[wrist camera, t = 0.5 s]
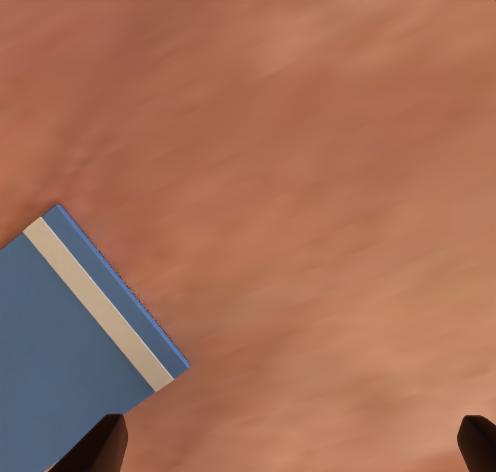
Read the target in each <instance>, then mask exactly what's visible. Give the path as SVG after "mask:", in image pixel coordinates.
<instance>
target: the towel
mask: <svg viewBox="0 0 496 472" xmlns="http://www.w3.org/2000/svg"><path fill="white" fill-rule="evenodd" d="M189 366H190V364H189V363H188V361H187V360H186V359H185V358H184V356H183V355H182V354H181V353H180V352H179V350H178V349H177V348H176V347H175V345H174V344H173V343H172V342H171V340H170V339H169V338H168V337H167V335H166V334H165V333H164V332H163V331H162V329H161V328H160V327H159V326H158V324H157V323H156V322H155V321H154V319H153V318H152V317H151V316H150V314H149V313H148V312H147V311H146V310H145V308H144V307H143V306H142V305H141V303H140V302H139V301H138V300H137V298H136V297H135V296H134V295H133V293H132V292H131V291H130V290H129V289H128V287H127V286H126V285H125V284H124V282H123V281H122V280H121V279H120V277H119V276H118V275H117V274H116V272H115V271H114V270H113V269H112V268H111V266H110V265H109V264H108V263H107V261H106V260H105V259H104V258H103V256H102V255H101V254H100V253H99V251H98V250H97V249H96V248H95V247H94V245H93V244H92V243H91V242H90V240H89V239H88V238H87V237H86V235H85V234H84V233H83V232H82V230H81V229H80V228H79V227H78V226H77V224H76V223H75V222H74V221H73V219H72V218H71V217H70V216H69V214H68V213H67V212H66V211H65V209H64V208H63V207H62V206H61V205H55V206H54V207H53V208H52V209H50V210H49V211H48V212H47V213H45V214H44V215H43V216H42V217H39V218H38V219H37V220H35V221H34V222H33V223H32V224H31V225H29V226H28V227H27V228H26V229H24V230H23V232H22V233H21V234H20V235H19V236H17V237H16V238H15V239H14V240H12V241H11V242H10V243H9V244H8V245H6V246H5V247H4V248H3V249H1V250H0V472H44V471H45V470H46V469H48V468H49V467H51V466H52V465H53V464H55V463H56V462H58V461H59V460H60V459H61V458H62V457H63V456H64V455H66V454H67V453H68V452H69V451H70V450H71V449H72V448H73V447H74V446H75V445H76V444H77V443H78V442H79V441H80V440H81V439H82V438H83V437H84V436H85V435H86V434H87V433H88V432H89V431H90V430H91V429H92V428H93V427H94V426H95V425H96V424H97V423H98V422H99V421H100V420H101V419H102V418H103V417H104V416H105V415H107V414H109V413H120V414H122V415H124V414H125V413H126V412H128V411H129V410H131V409H132V408H133V407H135V406H136V405H138V404H139V403H141V402H142V401H143V400H145V399H146V398H148V397H149V396H150V395H152V394H153V393H155V392H157V391H159V390H160V389H161V388H163V387H164V386H166V385H167V384H168V383H170V382H171V381H173V380H174V378H176V377H177V376H178V375H180V374H181V373H183V372H184V371H185V370H187V369H188V368H189Z"/></svg>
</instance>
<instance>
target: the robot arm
mask: <svg viewBox="0 0 496 472" xmlns="http://www.w3.org/2000/svg"><path fill="white" fill-rule="evenodd" d="M127 442H128V432H127V428H126V424H125V420H124V416H123V415H122V414H120V413H109V414H107V415H105V416H104V417H103V418H102V419H101V420H100V421H99V422H98V423H97V424H96V425H95V426H94V427H93V428H92V429H91V430H90V431H89V432H88V433H87V434H86V435H85V436H84V437H83V438H82V439H81V440H80V441H79V442H78V443H77V444H76V445H75V446H74V447H73V448H72V449H71V450H70V451H69V452H68V453H67V454H66V455H64V456H63V457H62V458H61V459H60V460H59V461H58V462H57V463H56V464H55V465H54V466H53V467H52V468H51V469H50V470H49V471H48V472H120V469H121V465H122V462H123V458H124V454H125V450H126V447H127ZM457 442H458V446H459V449H460V451H461V453H462V456H463V458H464V460H465V463H466V465H467V467H468V470H469V472H496V425H495V424H493V423H492V422H491V421H489V420H488V419H486V418H485V417H483V416H480V415H466V416H464V418H463V420H462V423H461V426H460V429H459V432H458V435H457Z"/></svg>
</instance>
